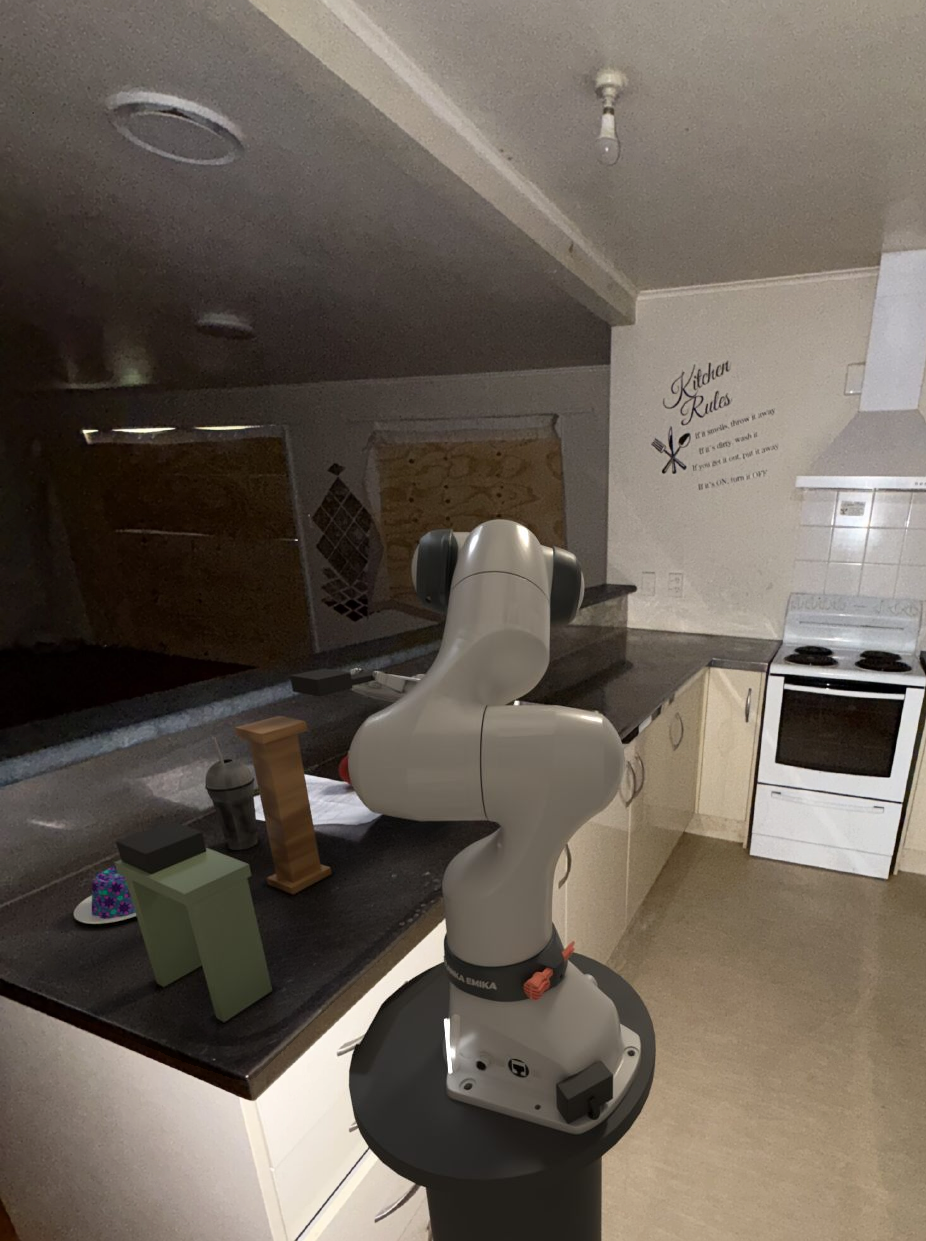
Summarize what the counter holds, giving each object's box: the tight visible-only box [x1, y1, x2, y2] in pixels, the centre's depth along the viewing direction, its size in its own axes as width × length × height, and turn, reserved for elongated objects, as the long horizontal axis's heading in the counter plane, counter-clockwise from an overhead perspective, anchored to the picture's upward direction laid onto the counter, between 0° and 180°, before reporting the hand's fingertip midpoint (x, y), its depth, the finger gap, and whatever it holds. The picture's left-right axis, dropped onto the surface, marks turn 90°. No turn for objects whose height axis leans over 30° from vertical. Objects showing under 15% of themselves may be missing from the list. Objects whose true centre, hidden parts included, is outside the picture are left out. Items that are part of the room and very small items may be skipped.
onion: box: [338, 750, 352, 786], centre depth 134 cm, size 6×6×8 cm
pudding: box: [72, 866, 137, 925], centre depth 92 cm, size 12×12×5 cm
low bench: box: [114, 847, 273, 1023], centre depth 73 cm, size 14×7×17 cm, turn 61°
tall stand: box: [234, 715, 333, 895], centre depth 95 cm, size 6×7×26 cm
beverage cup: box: [204, 736, 259, 851], centre depth 107 cm, size 7×7×20 cm
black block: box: [115, 820, 207, 874], centre depth 71 cm, size 6×6×2 cm
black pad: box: [289, 668, 389, 697], centre depth 99 cm, size 6×14×2 cm, turn 151°
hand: (365, 674), depth 102 cm, fingers closed on black pad, 3 cm apart
